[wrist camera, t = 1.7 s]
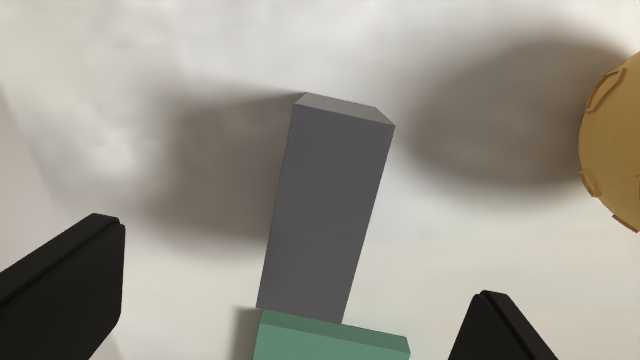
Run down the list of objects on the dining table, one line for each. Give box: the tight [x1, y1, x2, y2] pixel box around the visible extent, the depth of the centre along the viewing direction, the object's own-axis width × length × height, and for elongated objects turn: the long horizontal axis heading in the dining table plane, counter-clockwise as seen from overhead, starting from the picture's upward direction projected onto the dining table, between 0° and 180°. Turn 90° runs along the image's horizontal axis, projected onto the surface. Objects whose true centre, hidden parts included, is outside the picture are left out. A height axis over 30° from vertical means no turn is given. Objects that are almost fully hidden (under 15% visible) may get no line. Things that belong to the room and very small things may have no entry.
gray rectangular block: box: [256, 92, 396, 325], centre depth 19 cm, size 4×9×7 cm, turn 168°
